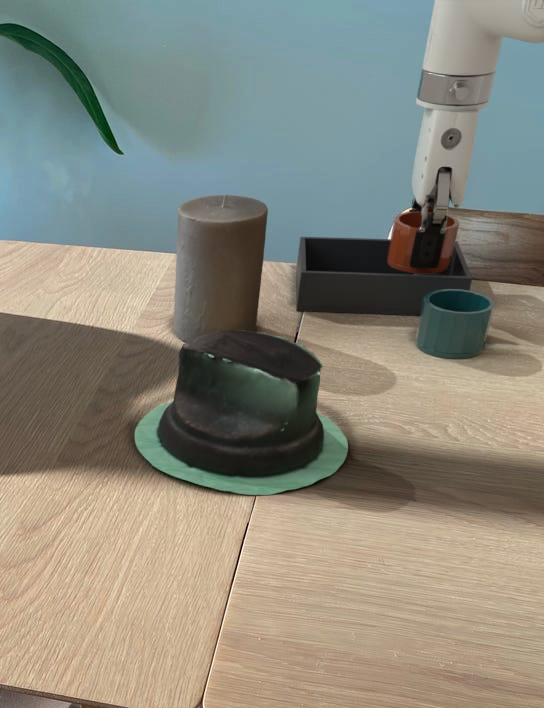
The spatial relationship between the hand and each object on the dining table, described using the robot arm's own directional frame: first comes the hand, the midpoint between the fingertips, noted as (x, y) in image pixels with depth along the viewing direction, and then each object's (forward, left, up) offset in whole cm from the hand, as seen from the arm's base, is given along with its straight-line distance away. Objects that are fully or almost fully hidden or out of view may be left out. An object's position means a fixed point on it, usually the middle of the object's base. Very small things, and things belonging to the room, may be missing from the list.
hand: (420, 254), depth 117 cm
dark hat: (+19, +40, -5) cm, 45 cm away
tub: (+4, 0, -5) cm, 7 cm away
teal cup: (-3, +15, -5) cm, 16 cm away
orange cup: (0, 0, -1) cm, 1 cm away
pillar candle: (+23, +14, -5) cm, 28 cm away
